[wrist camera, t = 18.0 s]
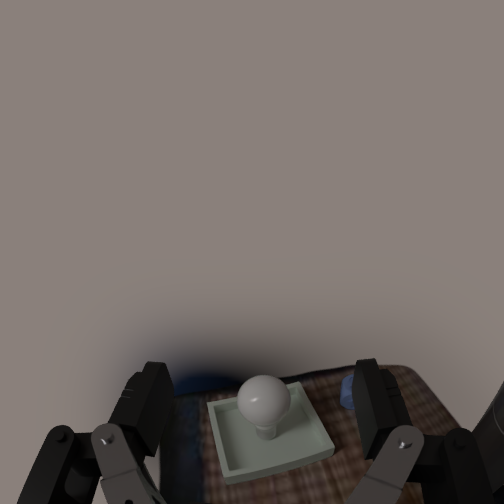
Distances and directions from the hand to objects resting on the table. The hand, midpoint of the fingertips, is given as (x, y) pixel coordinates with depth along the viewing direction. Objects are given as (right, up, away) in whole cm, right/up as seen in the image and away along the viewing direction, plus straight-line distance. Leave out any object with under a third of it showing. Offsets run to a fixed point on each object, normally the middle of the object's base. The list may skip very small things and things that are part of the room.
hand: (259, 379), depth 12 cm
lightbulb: (+2, -20, +24) cm, 31 cm away
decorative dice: (+15, -17, +29) cm, 37 cm away
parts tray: (+2, -20, +25) cm, 32 cm away
